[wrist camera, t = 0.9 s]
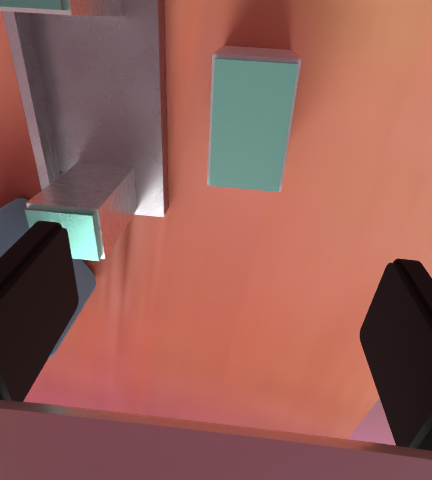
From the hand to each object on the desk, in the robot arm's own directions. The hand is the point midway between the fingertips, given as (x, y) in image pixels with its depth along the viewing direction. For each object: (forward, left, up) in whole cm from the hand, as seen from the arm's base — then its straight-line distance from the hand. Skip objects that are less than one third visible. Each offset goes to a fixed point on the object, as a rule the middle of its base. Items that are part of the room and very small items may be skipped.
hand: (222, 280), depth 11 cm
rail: (+12, -1, -22) cm, 25 cm away
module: (0, -1, -22) cm, 22 cm away
